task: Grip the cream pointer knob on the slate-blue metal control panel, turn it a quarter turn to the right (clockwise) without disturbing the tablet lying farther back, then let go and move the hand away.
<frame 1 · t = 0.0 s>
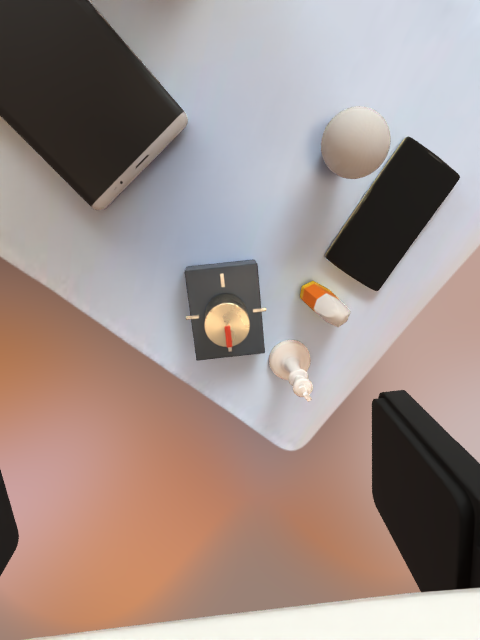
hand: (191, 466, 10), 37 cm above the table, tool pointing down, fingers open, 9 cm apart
dial knob: (226, 319, 42), point 5 cm above the table, hinge at 0.0°
smartphone: (387, 217, 46), on the table
control panel: (225, 306, 48), on the table
candy corn: (319, 298, 48), on the table
chess piece: (289, 358, 50), on the table
tablet: (44, 58, 40), on the table
light bulb: (333, 152, 44), on the table
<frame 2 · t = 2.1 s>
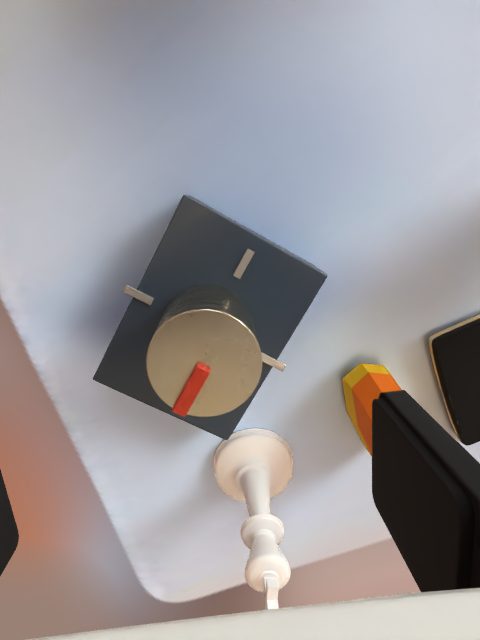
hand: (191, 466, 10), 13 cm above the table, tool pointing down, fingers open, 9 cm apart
dial knob: (206, 346, 18), point 5 cm above the table, hinge at 0.0°
control panel: (208, 312, 23), on the table
candy corn: (366, 397, 25), on the table
chess piece: (252, 460, 26), on the table
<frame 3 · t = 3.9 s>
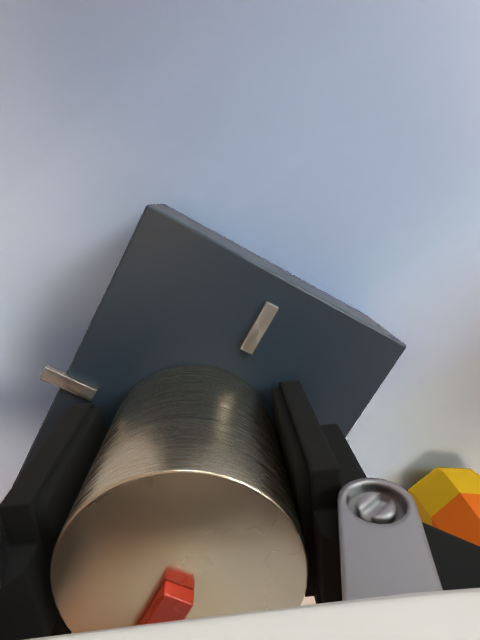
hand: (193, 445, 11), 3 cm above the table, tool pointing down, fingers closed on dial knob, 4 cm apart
dial knob: (189, 498, 9), point 5 cm above the table, hinge at -0.1°, touching gripper
control panel: (198, 390, 14), on the table
candy corn: (440, 509, 17), on the table
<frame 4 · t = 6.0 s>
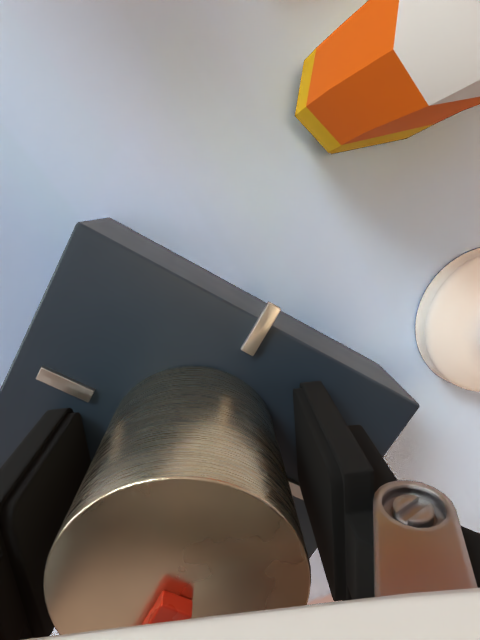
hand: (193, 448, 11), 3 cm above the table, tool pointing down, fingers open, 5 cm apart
dial knob: (187, 503, 9), point 5 cm above the table, hinge at -89.6°
control panel: (197, 391, 14), on the table
candy corn: (383, 89, 12), on the table
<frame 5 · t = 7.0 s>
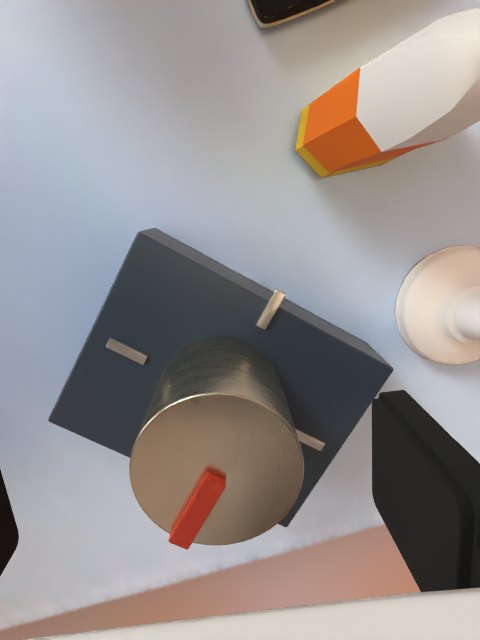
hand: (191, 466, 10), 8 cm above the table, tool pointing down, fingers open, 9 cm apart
dial knob: (218, 430, 13), point 5 cm above the table, hinge at -89.6°
control panel: (221, 364, 18), on the table
candy corn: (364, 127, 16), on the table
chess piece: (451, 304, 18), on the table
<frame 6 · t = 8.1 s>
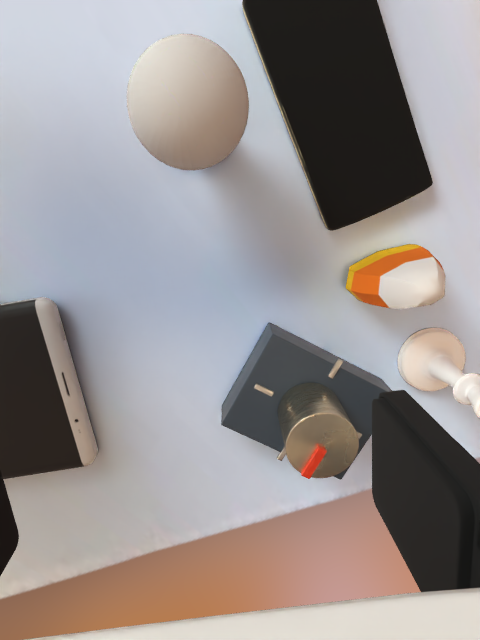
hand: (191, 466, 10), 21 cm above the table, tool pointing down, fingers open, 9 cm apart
dial knob: (315, 428, 27), point 5 cm above the table, hinge at -89.6°
smartphone: (338, 102, 27), on the table
control panel: (301, 392, 32), on the table
candy corn: (379, 269, 30), on the table
chess piece: (428, 357, 32), on the table
light bulb: (199, 132, 27), on the table
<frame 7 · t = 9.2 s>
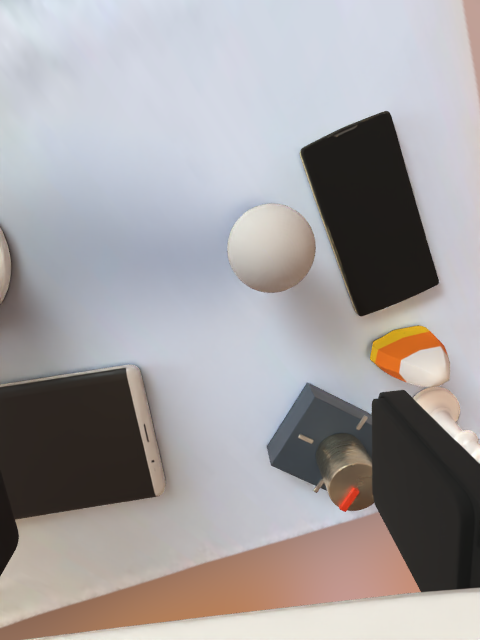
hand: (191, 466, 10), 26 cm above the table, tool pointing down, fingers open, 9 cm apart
dial knob: (348, 471, 35), point 5 cm above the table, hinge at -89.6°
smartphone: (368, 219, 35), on the table
control panel: (330, 436, 40), on the table
candy corn: (395, 342, 38), on the table
chess piece: (430, 409, 40), on the table
tablet: (11, 447, 39), on the table
light bulb: (259, 239, 35), on the table
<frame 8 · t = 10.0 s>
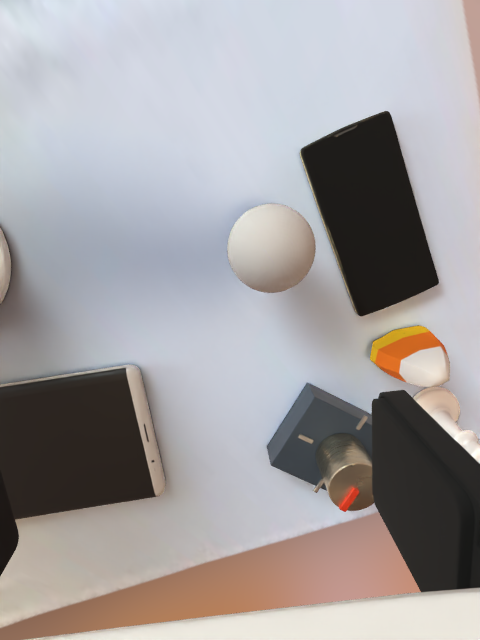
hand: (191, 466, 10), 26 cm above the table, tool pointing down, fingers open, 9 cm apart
dial knob: (347, 471, 35), point 5 cm above the table, hinge at -89.6°
smartphone: (368, 219, 35), on the table
control panel: (330, 436, 40), on the table
candy corn: (395, 342, 38), on the table
chess piece: (430, 409, 40), on the table
tablet: (11, 447, 39), on the table
light bulb: (259, 239, 35), on the table
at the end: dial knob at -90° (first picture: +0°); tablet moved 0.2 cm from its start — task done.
